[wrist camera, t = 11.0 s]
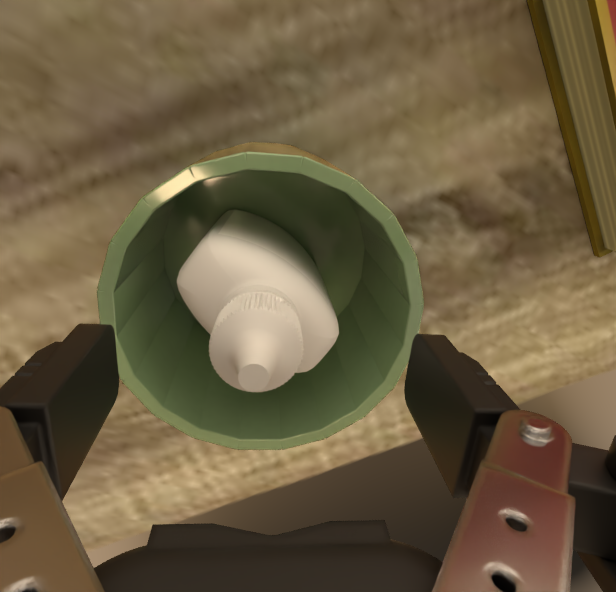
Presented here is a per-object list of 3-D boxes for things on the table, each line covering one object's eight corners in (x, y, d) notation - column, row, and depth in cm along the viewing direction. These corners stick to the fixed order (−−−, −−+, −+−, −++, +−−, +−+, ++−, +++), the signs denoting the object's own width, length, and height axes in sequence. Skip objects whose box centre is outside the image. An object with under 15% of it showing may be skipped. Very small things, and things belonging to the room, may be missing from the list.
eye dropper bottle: (283, 185, 20) (295, 224, 9) (328, 292, 22) (385, 439, 11) (197, 222, 21) (100, 306, 9) (248, 325, 22) (220, 504, 11)
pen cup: (151, 133, 20) (81, 138, 12) (384, 151, 21) (450, 167, 13) (160, 346, 23) (111, 449, 16) (357, 351, 25) (397, 450, 17)
